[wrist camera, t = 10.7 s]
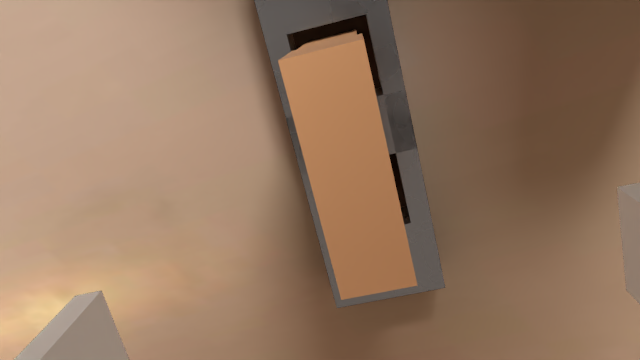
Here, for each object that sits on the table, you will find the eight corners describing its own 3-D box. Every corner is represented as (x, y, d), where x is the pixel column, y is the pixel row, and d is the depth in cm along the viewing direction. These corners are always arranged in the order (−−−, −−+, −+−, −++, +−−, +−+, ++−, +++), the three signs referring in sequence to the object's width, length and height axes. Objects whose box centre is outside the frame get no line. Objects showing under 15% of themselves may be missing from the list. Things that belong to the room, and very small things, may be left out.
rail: (250, -44, 32) (240, -50, 29) (368, -77, 31) (370, -86, 28) (338, 285, 38) (336, 308, 35) (438, 266, 37) (445, 287, 34)
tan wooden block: (303, 42, 33) (277, 60, 22) (360, 28, 33) (363, 39, 21) (345, 207, 36) (341, 300, 25) (397, 196, 36) (417, 285, 24)
